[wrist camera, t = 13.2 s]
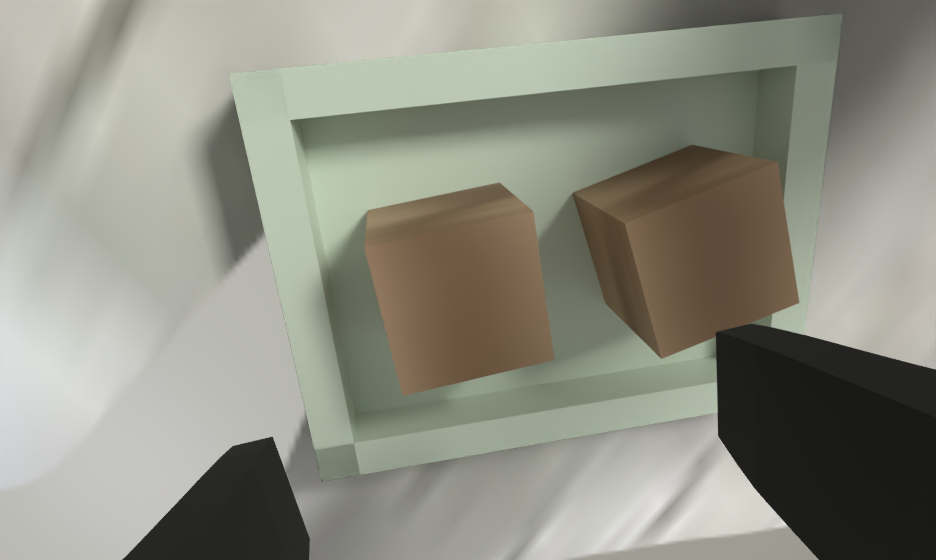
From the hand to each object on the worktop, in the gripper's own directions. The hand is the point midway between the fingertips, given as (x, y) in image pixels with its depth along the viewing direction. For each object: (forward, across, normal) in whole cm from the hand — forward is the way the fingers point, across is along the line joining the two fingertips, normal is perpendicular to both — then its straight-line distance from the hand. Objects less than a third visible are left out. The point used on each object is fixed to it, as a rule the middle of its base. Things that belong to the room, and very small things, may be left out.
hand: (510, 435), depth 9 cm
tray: (+10, -3, 0) cm, 10 cm away
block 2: (+9, -6, 0) cm, 11 cm away
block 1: (+9, 0, 0) cm, 9 cm away
